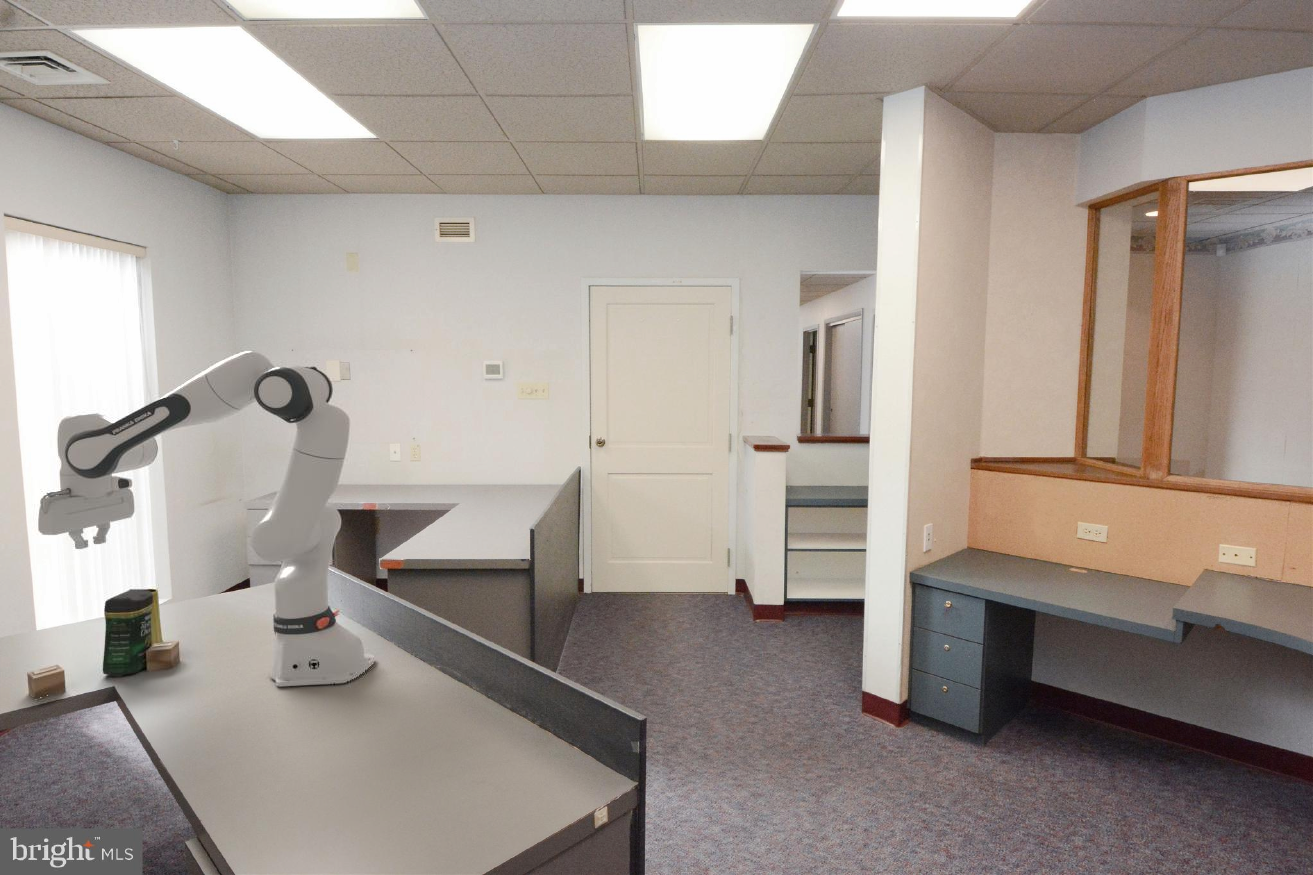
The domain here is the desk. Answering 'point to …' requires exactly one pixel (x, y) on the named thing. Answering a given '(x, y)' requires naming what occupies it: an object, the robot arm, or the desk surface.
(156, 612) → the vase
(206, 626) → the desk surface
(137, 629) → the coffee jar
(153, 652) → the marked block 2
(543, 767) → the desk surface
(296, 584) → the robot arm
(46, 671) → the marked block 1
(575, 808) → the desk surface
